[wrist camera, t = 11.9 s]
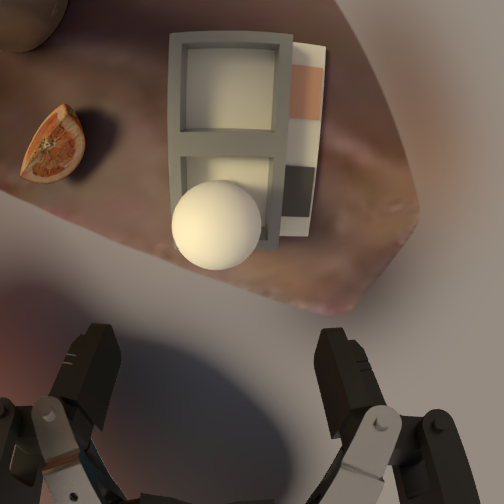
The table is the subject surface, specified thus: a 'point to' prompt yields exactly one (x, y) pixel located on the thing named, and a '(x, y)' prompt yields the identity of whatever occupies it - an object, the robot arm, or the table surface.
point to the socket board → (247, 121)
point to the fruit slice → (54, 148)
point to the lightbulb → (216, 225)
